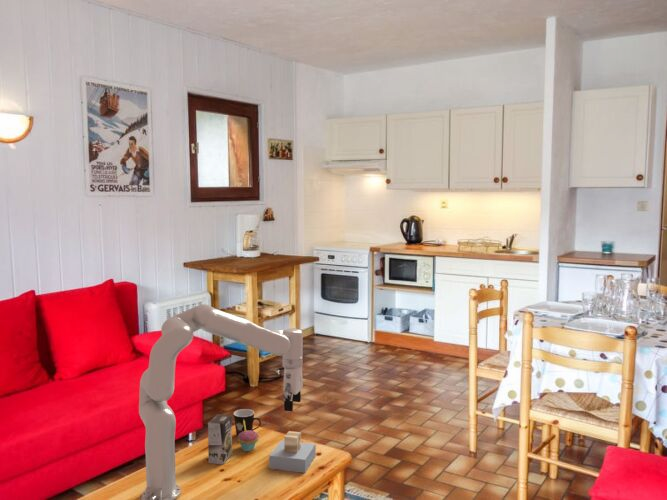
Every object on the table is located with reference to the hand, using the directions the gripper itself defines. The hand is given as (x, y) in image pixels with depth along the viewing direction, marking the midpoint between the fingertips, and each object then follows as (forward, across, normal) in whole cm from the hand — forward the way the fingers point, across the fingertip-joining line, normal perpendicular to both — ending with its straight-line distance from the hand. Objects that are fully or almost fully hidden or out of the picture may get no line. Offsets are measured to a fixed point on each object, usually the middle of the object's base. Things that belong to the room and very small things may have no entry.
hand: (292, 406), depth 222 cm
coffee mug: (+22, +17, +26) cm, 38 cm away
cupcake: (+22, +7, +21) cm, 31 cm away
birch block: (+17, 0, 0) cm, 17 cm away
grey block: (+22, 0, 0) cm, 22 cm away
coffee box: (+22, -4, +28) cm, 36 cm away
